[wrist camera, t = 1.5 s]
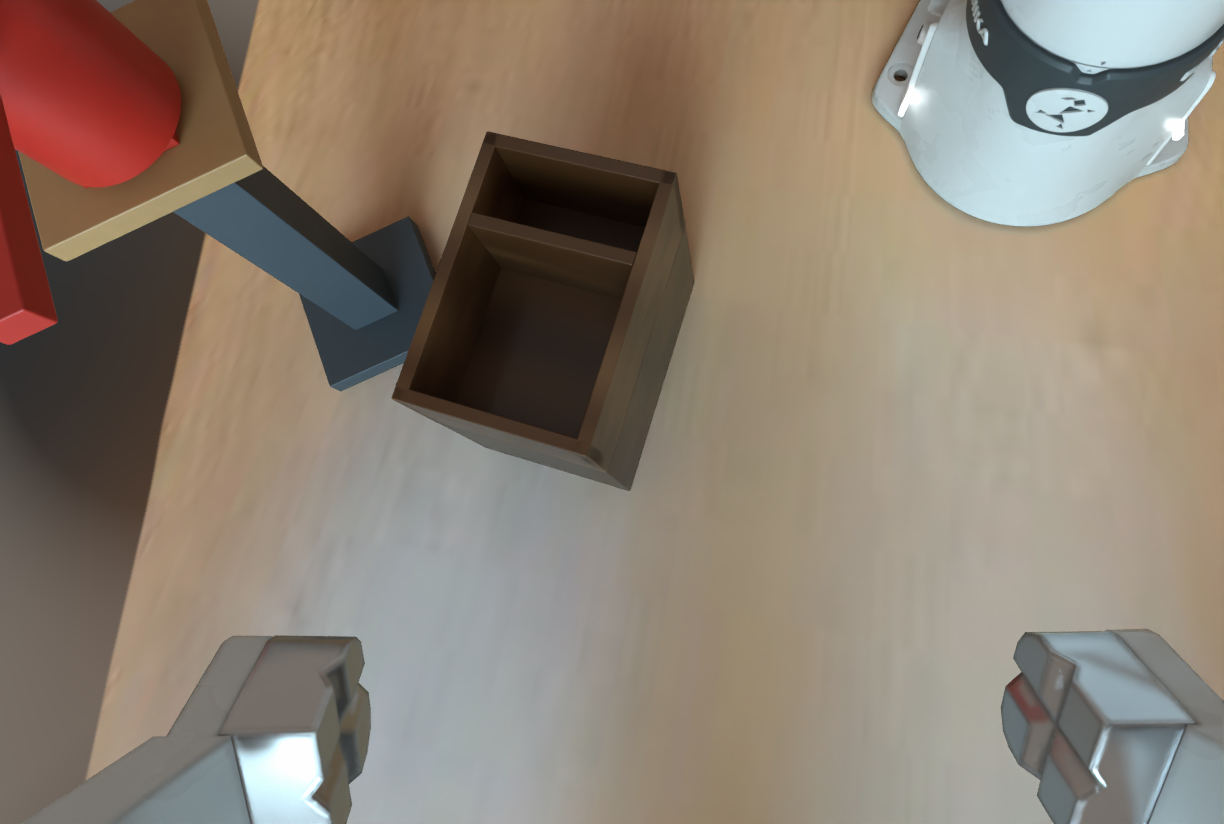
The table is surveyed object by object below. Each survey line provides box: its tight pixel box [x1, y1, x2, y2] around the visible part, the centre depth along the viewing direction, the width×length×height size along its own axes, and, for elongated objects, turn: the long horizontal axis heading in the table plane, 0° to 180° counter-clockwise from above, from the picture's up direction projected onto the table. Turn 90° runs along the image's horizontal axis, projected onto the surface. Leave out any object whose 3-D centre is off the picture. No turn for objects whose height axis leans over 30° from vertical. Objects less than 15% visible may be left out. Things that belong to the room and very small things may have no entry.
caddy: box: [392, 132, 694, 491], centre depth 47 cm, size 14×10×15 cm
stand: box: [18, 0, 436, 391], centre depth 46 cm, size 9×9×25 cm
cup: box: [0, 0, 181, 345], centre depth 28 cm, size 15×6×9 cm, turn 23°
